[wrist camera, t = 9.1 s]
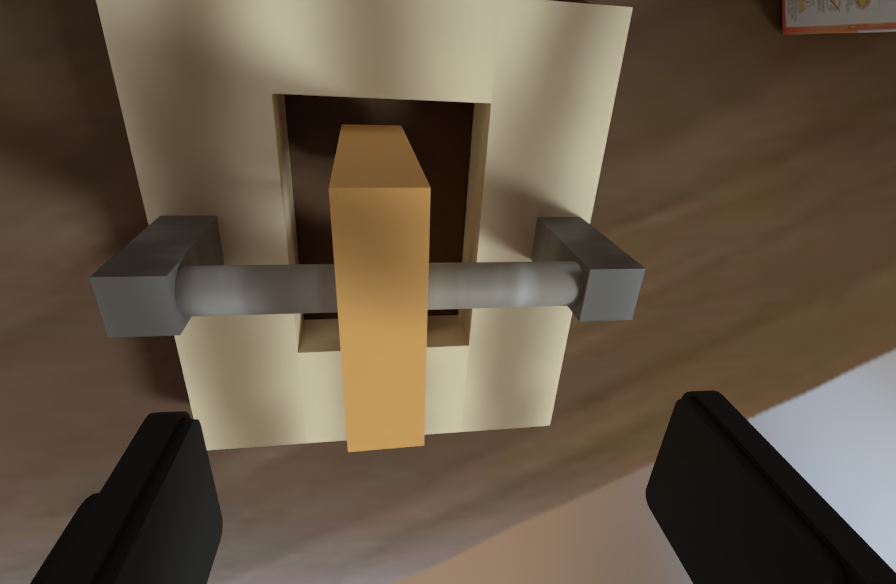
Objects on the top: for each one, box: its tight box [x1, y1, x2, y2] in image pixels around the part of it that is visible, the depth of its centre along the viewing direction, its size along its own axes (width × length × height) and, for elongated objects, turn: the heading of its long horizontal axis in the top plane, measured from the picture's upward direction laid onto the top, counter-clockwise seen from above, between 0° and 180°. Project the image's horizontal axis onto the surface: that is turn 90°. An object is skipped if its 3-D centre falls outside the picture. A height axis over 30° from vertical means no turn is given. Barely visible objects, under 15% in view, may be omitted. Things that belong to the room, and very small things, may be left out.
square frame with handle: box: [90, 0, 645, 450], centre depth 20 cm, size 18×20×8 cm
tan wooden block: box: [329, 124, 431, 452], centre depth 18 cm, size 2×8×9 cm, turn 178°
